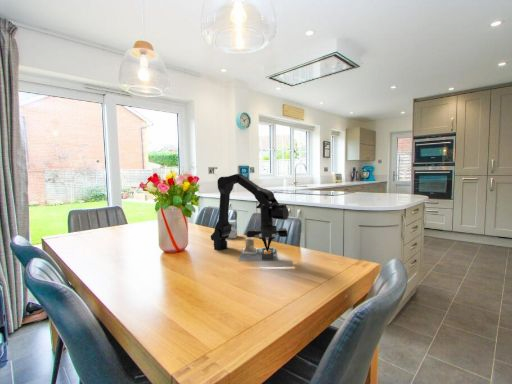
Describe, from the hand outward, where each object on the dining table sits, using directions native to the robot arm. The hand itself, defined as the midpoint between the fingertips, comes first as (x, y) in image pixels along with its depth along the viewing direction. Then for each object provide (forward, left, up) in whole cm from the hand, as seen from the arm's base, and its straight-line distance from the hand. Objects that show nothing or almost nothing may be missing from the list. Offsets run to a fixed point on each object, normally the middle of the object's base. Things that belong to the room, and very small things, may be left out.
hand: (267, 250), depth 123 cm
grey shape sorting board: (-4, +4, -4) cm, 8 cm away
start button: (0, 0, -3) cm, 3 cm away
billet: (-9, +9, -3) cm, 13 cm away
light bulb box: (-25, +43, -5) cm, 51 cm away
